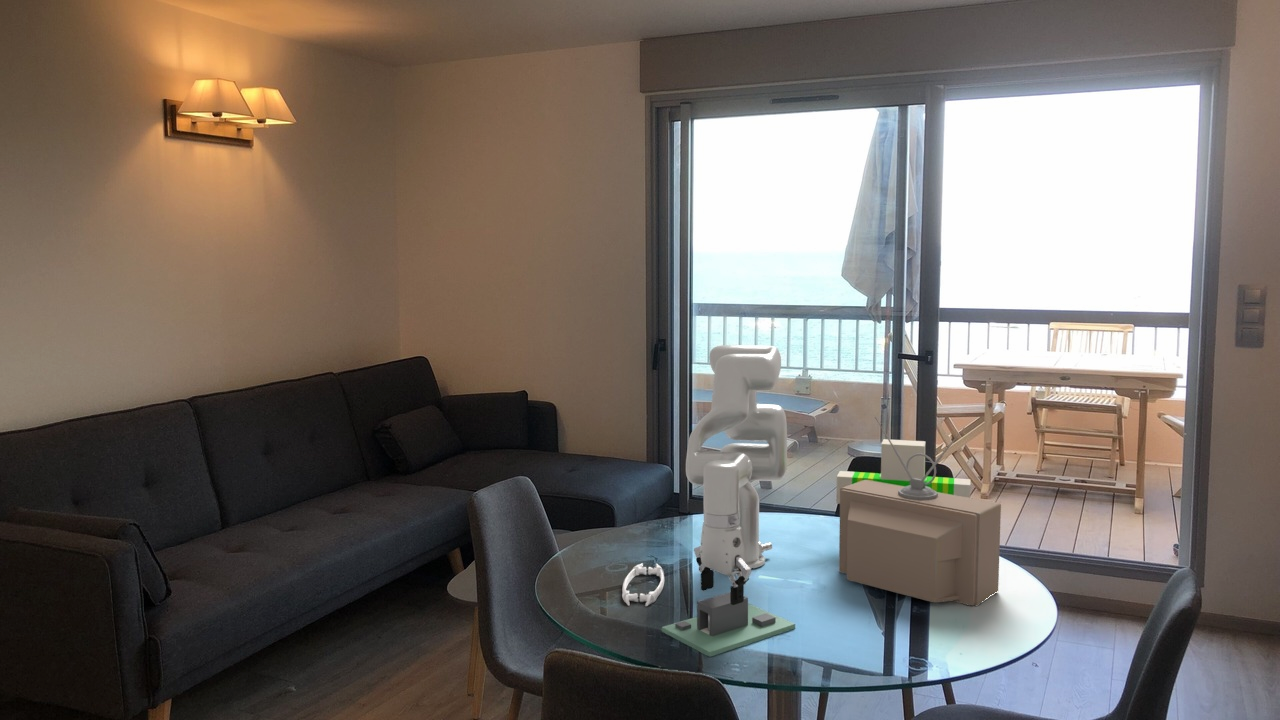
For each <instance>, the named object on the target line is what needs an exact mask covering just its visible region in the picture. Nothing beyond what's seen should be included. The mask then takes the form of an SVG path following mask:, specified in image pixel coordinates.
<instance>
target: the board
mask: <svg viewBox="0 0 1280 720" xmlns="http://www.w3.org/2000/svg"><path fill="white" fill-rule="evenodd" d="M795 629H796V623H794V622H793V621H789V620H788V619H785V618H783V617H781V616H778V615H776V614H774V613H771V612H769V611H767V610H764V609H762V608H761V607H757V606H755V605H753V604H750V603H748V625H746V626H743V627H740V628H737V629H734V630H731V631H727V632H724V633H721V634H718V635H715V636H711V635H709V631H708V628H705V629H702V630H699V629H697V616H695V617H690V618H689V619H688V618H687V619H684V620H682V621H677V622H675V623H672V624H671V623H670V624H667V625H665V626H662V627H661V632H662V633H664V634H665V635H667V636H670V637H672V638H673V639H674V640H677V641H678V642H681V643H682V644H685V645H687V646H688V647H690V648H692V649H694V650H695V651H698V652H699V653H702V654H703V655H705V656H708V657H709V658H710V657H714V656H716V655H720V654H722V653H725V652H729V651H732V650H734V649H737V648H740V647H744V646H746V645H749V644H752V643H755V642H758V641H759V642H760V641H762V640H764V639H767V638H771V637H774V636H776V635H779V634H783V633H786V632H789V631H791V630H795Z"/></svg>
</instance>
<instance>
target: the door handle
mask: <svg viewBox="0 0 1280 720" xmlns="http://www.w3.org/2000/svg"><path fill="white" fill-rule="evenodd" d="M664 573H665V572H664V570H663V568H662V567H661V565H660V564H658V563H655V566H653V567H651V566H648V569H647V566H644V563H643V562H642V563H639V564H636V565H635V566H633V567H632V569H631V570H630V572H629V573H628V574H627V576H625V578H624V579H623V583H622V589H621V590H622V593H621V597H622V601H624V603H626V605H627V606H629V607H630V606H631V605H630V602H635V603H638V600H639V602H640V603H644V602H645V605H644V606H645V607H648V606H650V605H651V604H654V603H655V602H656V601H657V599H658V597H659V595H661V593H662V591H663V589H664V585H665V575H664ZM647 574H648V576H652V575H656V577H659V579H660V582H659V583H658V586H657V587H656V588H655V590H654V591H649V592H648V594H647V592H645V593H639V594H638V593H636V592H635V593H630V590H627V588H628V585H629V584H630V582H631V581H632V580H633V579H634V578H635V577H636V576H639V575H645V576H646V575H647Z"/></svg>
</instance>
